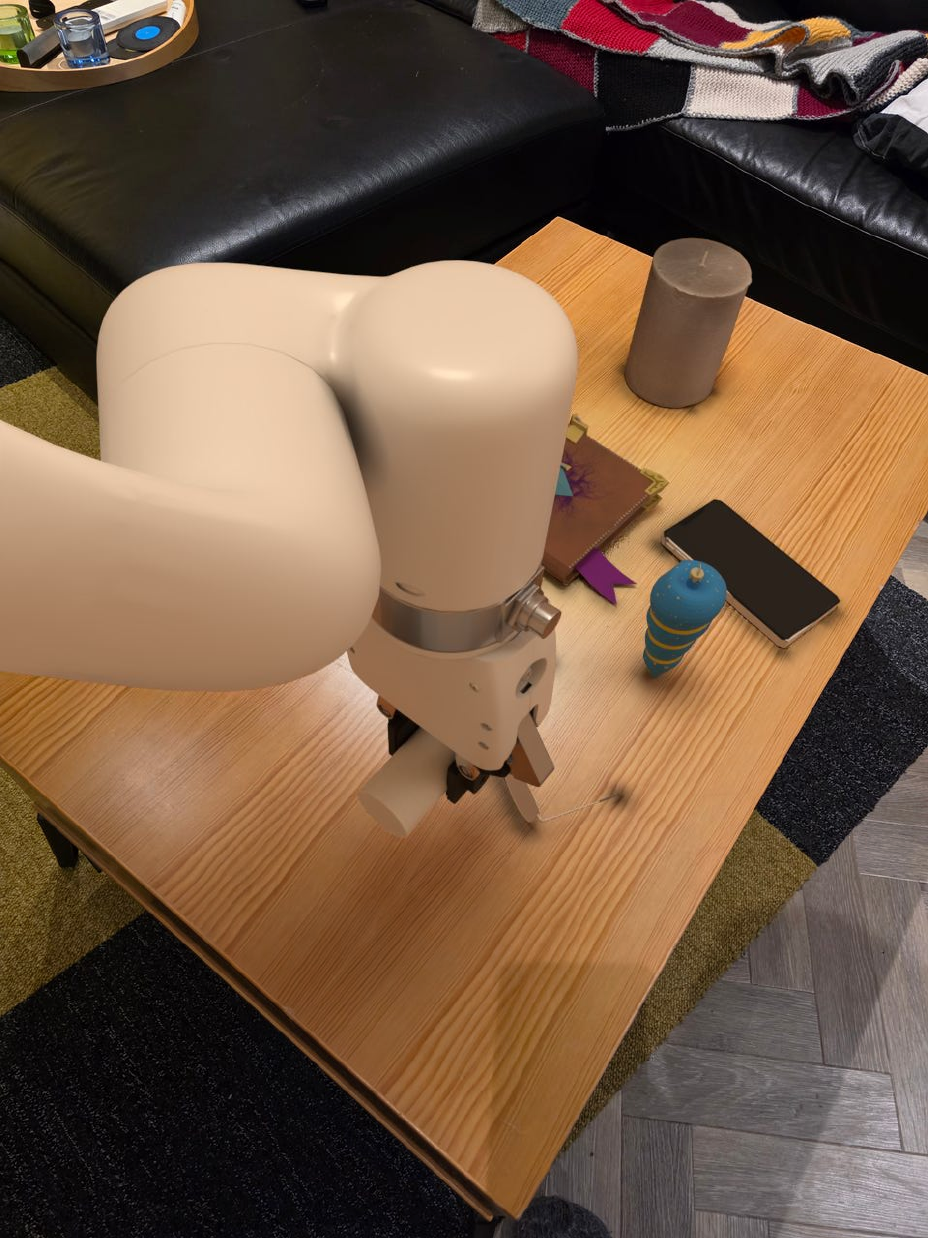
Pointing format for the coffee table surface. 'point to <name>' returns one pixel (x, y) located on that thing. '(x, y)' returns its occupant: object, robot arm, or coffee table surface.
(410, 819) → the marker
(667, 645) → the ornament
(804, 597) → the smartphone
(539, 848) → the coffee table surface
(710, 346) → the pillar candle
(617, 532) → the book
